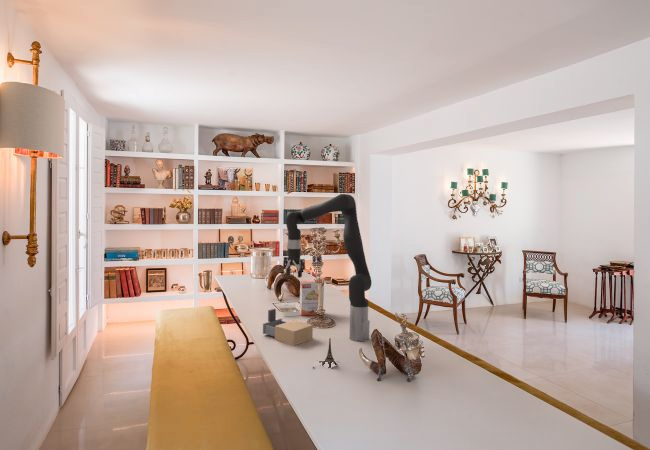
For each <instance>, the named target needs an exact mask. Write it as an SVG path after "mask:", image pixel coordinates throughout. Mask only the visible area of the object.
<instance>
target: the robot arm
mask: <svg viewBox="0 0 650 450" xmlns="http://www.w3.org/2000/svg"><path fill="white" fill-rule="evenodd" d="M356 204H357V203H356V200H355V198H354V197H353V196H352V195H350V194H348V193H347V194H346V193H340V194H338V195H336V196H334V197H332V198H330V199H328V200H326V201H324V202H320V203H317V204H314V205H310V206H307V207H304V208H302V210H298V211H289V212H288V213H287V214H286V216H285V225H286V229H287V251H286V252H287V254H286V255H287V256H284V257H283V263H282V264H283V265H282V267H283V269H284V268H285V273H286V276H287V277H290V276H291V267H292V266H293V267H295V268H296V269H297V278H302V276H303V271H304V270H305V269H306V261H305V258H301V255H302V242H301V239H302V238H301V237H302V236H301V235H302V234H301V231H302V230H300V229H299V228H298V225H300V224H302V223H306V222H307V221H311V220H315V219H317V218H318V219H319V218H320V217H322V216H325V215H327V214H330V213H336V212H341V213H342V215H343V220H344V228H343V234H342V235H343V237H342V238H343V244H344V249H345V252H346V254H347V256H348V257H349V259H350V261H351V262H352V265H353V267H354V272H355V274H354V275H352V276H351V277H350V279H349V281H348V300H349V302H350V305H349V306H350V308H349V309H350V311H349V312H350V313H349V339H350V340H352V341H355V342H364V341H365V342H366V341H367V340H369V339H370V322H371V321H370V320H369V300H368V299H367V298H366V295H365V294H366V293H365V292H366V291H367V292H368V291H369V290H370V289H371V287H372V278H371V275H370V274H371V273H370V272H369V268H368V264H367V261H366V255H365V250H364V245H363V240H362V235H361V231H360V226H359V221H358V215H357V213H358V212H357V205H356Z"/></svg>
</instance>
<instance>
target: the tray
mask: <svg viewBox="0 0 650 450" xmlns="http://www.w3.org/2000/svg"><path fill="white" fill-rule="evenodd" d="M276 311H277V309H276V308H271V309H268V312H267V314H268V315H267V322H264V323H262V334H263V335H268V336H271V337H274V338H275V326H276V325H280V324H283V323H287V322H288V321H284V320H283V318H278V319H276V317H277V313H276Z"/></svg>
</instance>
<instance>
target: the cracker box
mask: <svg viewBox="0 0 650 450" xmlns="http://www.w3.org/2000/svg"><path fill="white" fill-rule="evenodd" d="M299 281H300V283H299V284H300V286H299V315H300V316H302V317H303V316H318V315H317V312H316V311H317V309H318V289H317V284H316V282H315V279H313V280H312V279H311V280H310V279H309V280H299ZM324 293H325V281H323V283H322V308H323V309H324V296H325V295H324Z"/></svg>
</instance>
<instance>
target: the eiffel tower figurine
mask: <svg viewBox="0 0 650 450" xmlns="http://www.w3.org/2000/svg"><path fill="white" fill-rule="evenodd" d="M328 340H329V341H328V349H327V350H328V351H327V354H326V358H324V360H325V361H319V363H321V362H322V367H324V366H323V365H324V364H325V362H328V364H329V367H328V368H327V369H329V368H331V363H332V362H333V364H335V365H338V364H337V363H338V362H335V361H334V360H335V358H334V357H333V355H332V354H333V353H332V347H331V346H332V343H331V341H332V340H331V337H329V339H328ZM331 369H332V368H331Z"/></svg>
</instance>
